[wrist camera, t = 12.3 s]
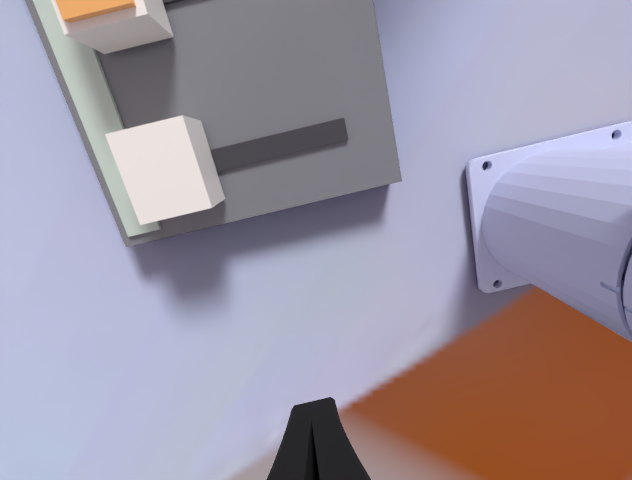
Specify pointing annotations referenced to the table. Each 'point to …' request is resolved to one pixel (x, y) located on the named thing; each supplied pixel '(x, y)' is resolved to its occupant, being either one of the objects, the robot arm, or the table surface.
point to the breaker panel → (240, 102)
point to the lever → (166, 168)
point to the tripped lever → (113, 22)
